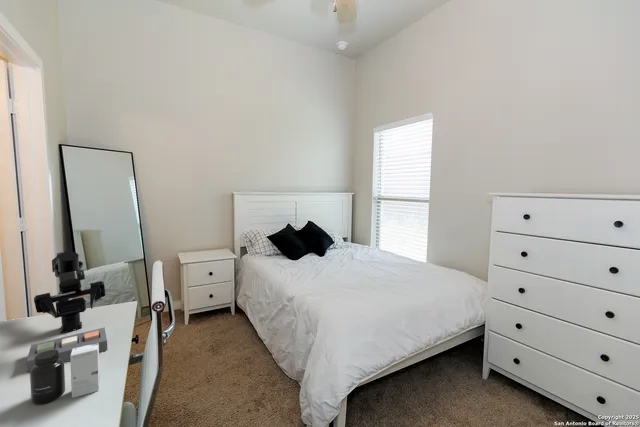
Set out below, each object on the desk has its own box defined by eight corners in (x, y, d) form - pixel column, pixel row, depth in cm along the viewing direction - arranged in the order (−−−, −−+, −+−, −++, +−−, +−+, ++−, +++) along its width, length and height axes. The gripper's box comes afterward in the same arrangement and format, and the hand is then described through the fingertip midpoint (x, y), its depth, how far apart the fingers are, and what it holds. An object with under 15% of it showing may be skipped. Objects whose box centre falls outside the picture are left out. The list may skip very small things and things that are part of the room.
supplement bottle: (36, 409, 75) (33, 365, 74) (28, 399, 79) (24, 356, 78) (70, 393, 81) (67, 352, 80) (60, 384, 85) (57, 345, 84)
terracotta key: (84, 340, 105) (84, 333, 105) (98, 337, 108) (98, 330, 107) (85, 345, 102) (84, 338, 102) (99, 341, 104) (99, 334, 104)
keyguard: (32, 354, 99) (31, 344, 99) (105, 336, 112) (104, 327, 112) (27, 372, 90) (26, 361, 90) (107, 349, 103) (106, 340, 102)
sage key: (38, 352, 97) (37, 345, 97) (54, 348, 100) (54, 341, 100) (37, 357, 94) (36, 350, 94) (53, 353, 97) (53, 346, 97)
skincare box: (71, 399, 79) (68, 356, 78) (73, 389, 83) (71, 348, 82) (100, 390, 83) (97, 349, 82) (101, 381, 86) (98, 342, 85)
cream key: (62, 346, 101) (62, 339, 101) (77, 342, 104) (77, 335, 104) (62, 351, 98) (61, 344, 98) (77, 347, 101) (77, 340, 100)
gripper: (30, 272, 99) (31, 303, 89) (99, 259, 111) (106, 285, 101) (36, 297, 103) (37, 329, 94) (102, 282, 116) (109, 309, 106)
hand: (74, 312), depth 98 cm, fingers open, 9 cm apart
